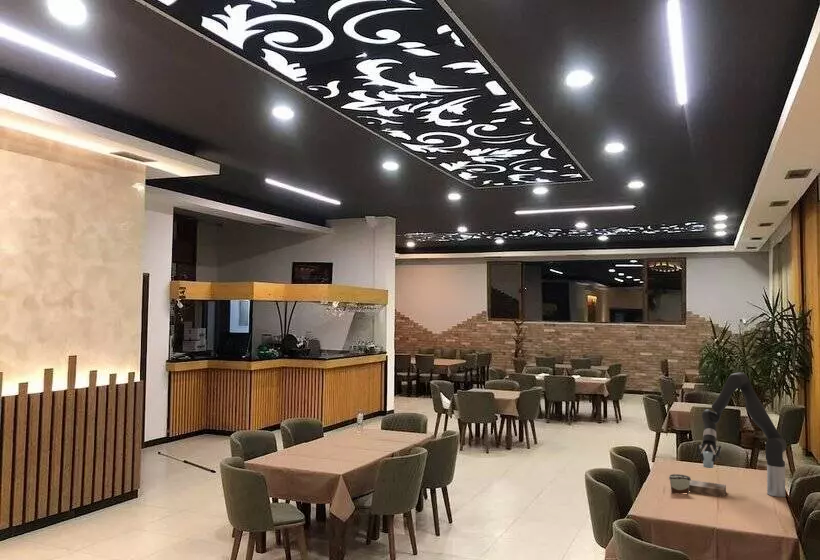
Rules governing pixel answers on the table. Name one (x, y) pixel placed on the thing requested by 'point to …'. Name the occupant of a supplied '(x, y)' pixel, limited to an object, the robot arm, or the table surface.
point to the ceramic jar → (707, 459)
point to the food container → (679, 483)
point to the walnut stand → (707, 488)
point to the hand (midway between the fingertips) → (708, 460)
